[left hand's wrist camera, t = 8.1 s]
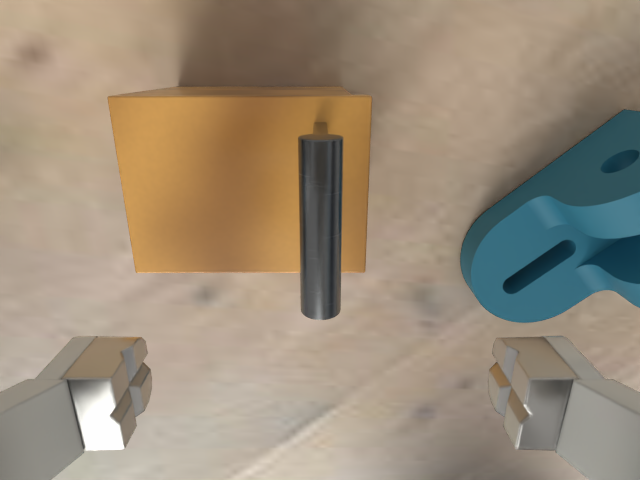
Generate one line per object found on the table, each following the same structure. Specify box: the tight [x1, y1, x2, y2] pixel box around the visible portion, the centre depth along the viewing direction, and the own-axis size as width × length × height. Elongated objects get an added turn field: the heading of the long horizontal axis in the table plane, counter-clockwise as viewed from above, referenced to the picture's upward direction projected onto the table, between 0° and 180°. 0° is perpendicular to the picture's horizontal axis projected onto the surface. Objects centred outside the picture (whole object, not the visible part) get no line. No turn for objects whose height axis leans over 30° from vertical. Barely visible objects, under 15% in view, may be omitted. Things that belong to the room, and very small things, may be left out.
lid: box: [108, 95, 372, 320], centre depth 22 cm, size 14×10×9 cm
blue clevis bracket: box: [460, 109, 640, 323], centre depth 34 cm, size 18×10×10 cm, turn 131°
